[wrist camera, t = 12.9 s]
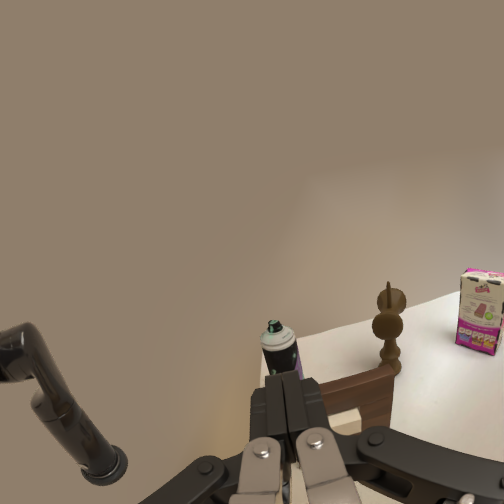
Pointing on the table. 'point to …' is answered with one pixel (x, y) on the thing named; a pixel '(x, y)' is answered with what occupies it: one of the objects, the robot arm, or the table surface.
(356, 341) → the table surface
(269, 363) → the spray can
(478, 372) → the table surface
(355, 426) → the switch paddle
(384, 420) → the wall plate
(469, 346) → the candy bar box
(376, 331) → the kendama
